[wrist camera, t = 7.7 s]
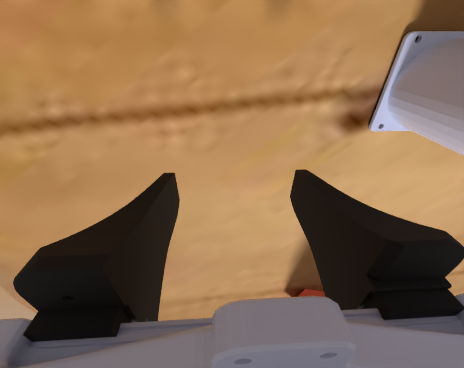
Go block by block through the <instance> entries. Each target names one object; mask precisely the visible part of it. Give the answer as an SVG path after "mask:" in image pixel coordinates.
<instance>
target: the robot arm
mask: <svg viewBox="0 0 464 368" xmlns="http://www.w3.org/2000/svg"><path fill="white" fill-rule="evenodd" d="M417 36H418V40H417V41H416V42H415V39H416V37H417ZM380 124H381V126H380V127H379V125H380ZM369 129H370V130H371V131H413V132H415V133H417V134H419V135H421V136H423V137H425V138H428V139H430V140H432V141H434V142H436V143H438V144H440V145H442V146H444V147H447V148H449V149H451V150H453V151H455V152H457V153H459V154H461V155H463V156H464V31H412V32H409V33H407V34H406V35H405V37H404V38H403V41H402V43H401V46H400V48H399V51H398V53H397V56H396V58H395V61H394V63H393V66H392V69H391V71H390V74H389V76H388V79H387V81H386V84H385V86H384V89H383V92H382V94H381V97H380V99H379V102H378V104H377V107H376V109H375V112H374V114H373V117H372V120H371V122H370V125H369ZM290 198H291V202H292V206H293V209H294V212H295V214H296V216H297V218H298V220H299V223H300V225H301V227H302V229H303V231H304V233H305V236H306V238H307V240H308V242H309V245H310V247H311V250H312V253H313V256H314V259H315V262H316V266H317V269H318V272H319V275H320V279H321V283H322V286H323V290H324V294H325V297H320V296H301V297H283V298H265V299H247V300H239V301H234V302H228V303H227V304H225V305H223V306H221V307H219V308H218V309H217V310H216V311H215V313H214V315H213V317H212V318H203V319H186V320H169V321H158V313H159V304H160V296H161V289H162V282H163V275H164V268H165V262H166V257H167V251H168V247H169V243H170V240H171V236H172V233H173V229H174V226H175V222H176V219H177V215H178V209H179V201H180V199H179V194H178V189H177V183H176V178H175V173H164V174H162V175H161V176H160V177H159V178H158V179H157V180H156V181H155V182H154V183H153V184H152V185H150V186H149V187H148V188H147V189H146V190H145V191H144V192H142V193H141V194H140V195H139V196H138V197H136V198H135V199H134V200H133V201H131V202H130V203H129V204H127V205H126V206H124V207H123V208H121V209H120V210H118V211H117V212H115V213H114V214H112V215H110V216H109V217H107V218H105V219H103V220H102V221H100V222H98V223H96V224H94V225H92V226H90V227H88V228H86V229H84V230H82V231H80V232H78V233H76V234H74V235H71V236H69V237H67V238H64V239H62V240H59V241H57V242H54V243H52V244H49V245H47V246H44V247H41V248H40V249H39V250H38V251H37V252H36V253H35V255H34V256H33V257H32V258H31V259H30V260H29V262H28V263H27V264H26V265H25V266H24V267H23V269H22V270H21V271H20V272H19V273H18V274H17V276H16V277H15V278H14V281H13V284H14V287H15V290H16V291H17V293H18V294H19V295H20V296H21V297H23V298H24V299H25V300H26V301H27V302H28V303H30V304H31V305H32V306H33V307H34V308H35V309H36V310H38V313H37V314H36V316H35V317H34V319H33V320H29V319H22V318H19V319H18V318H17V319H0V368H464V294H459V295H456V296H454V295H453V294H452V293H451V292H450V291H449V290H448V289H449V288H451V287H452V286H451V284H450V283H449V282H448V281H447V279H446V278H445V277H446V276H447V275H448V274H449V273H450V272H451V271H452V270H453V269H454V268H455V267H456V266H458V265H459V263H460V262H461V261H462V260H463V258H464V247H463V246H462V245H461V244H460V243H459V242H458V241H457V240H455V239H454V238H453V237H452V236H451V235H450V234H448V233H447V232H446V231H442V230H439V229H435V228H431V227H428V226H424V225H420V224H417V223H413V222H410V221H407V220H404V219H401V218H398V217H395V216H393V215H390V214H387V213H385V212H382V211H380V210H377V209H375V208H372V207H370V206H368V205H366V204H364V203H361V202H359V201H357V200H355V199H353V198H351V197H350V196H348V195H346V194H344V193H343V192H341V191H339V190H337V189H336V188H334V187H333V186H331V185H329V184H328V183H326V182H325V181H323V180H322V179H320V178H319V177H317V176H316V175H314V174H313V173H311V172H309V171H308V170H296V171H295V176H294V180H293V185H292V190H291V194H290Z"/></svg>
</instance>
